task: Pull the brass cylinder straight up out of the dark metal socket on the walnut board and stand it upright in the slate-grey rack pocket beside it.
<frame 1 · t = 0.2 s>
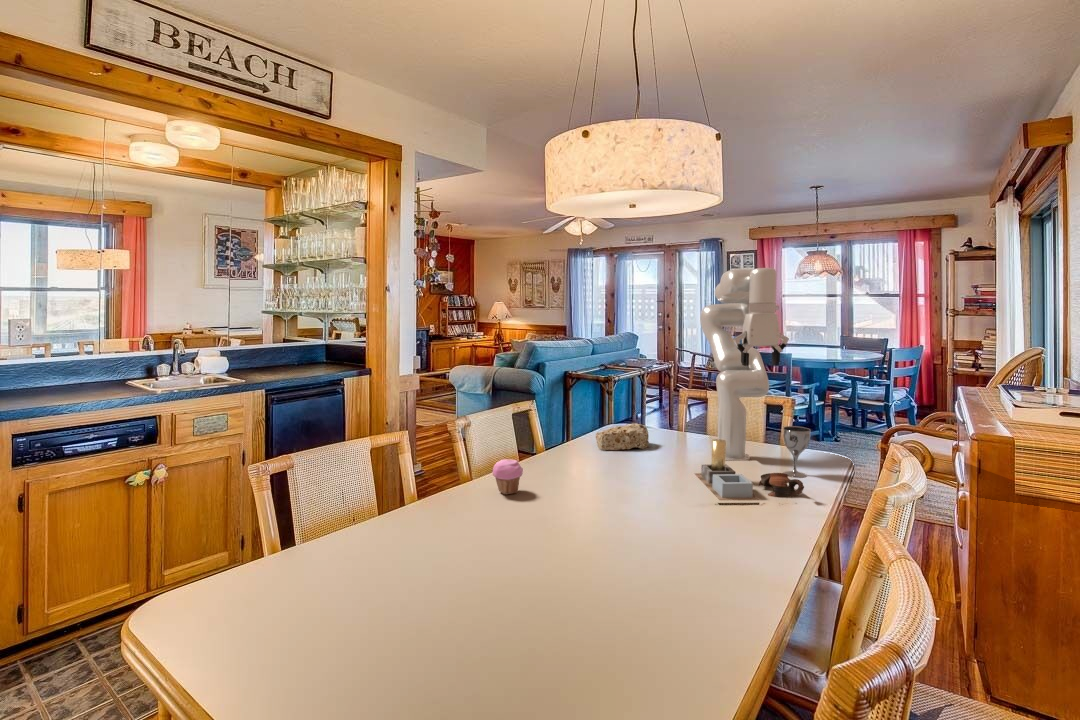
hand: (760, 365, 171), 36 cm above the table, tool pointing down, fingers open, 9 cm apart
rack: (731, 497, 159), resting on tool board
wine glass: (794, 474, 180), on the table
tool board: (724, 490, 164), on the table
rock: (621, 447, 217), on the table
brass cylinder: (717, 479, 170), point 1 cm above the table, touching tool board
cupcake: (507, 493, 164), on the table
pottery mug: (780, 498, 158), on the table
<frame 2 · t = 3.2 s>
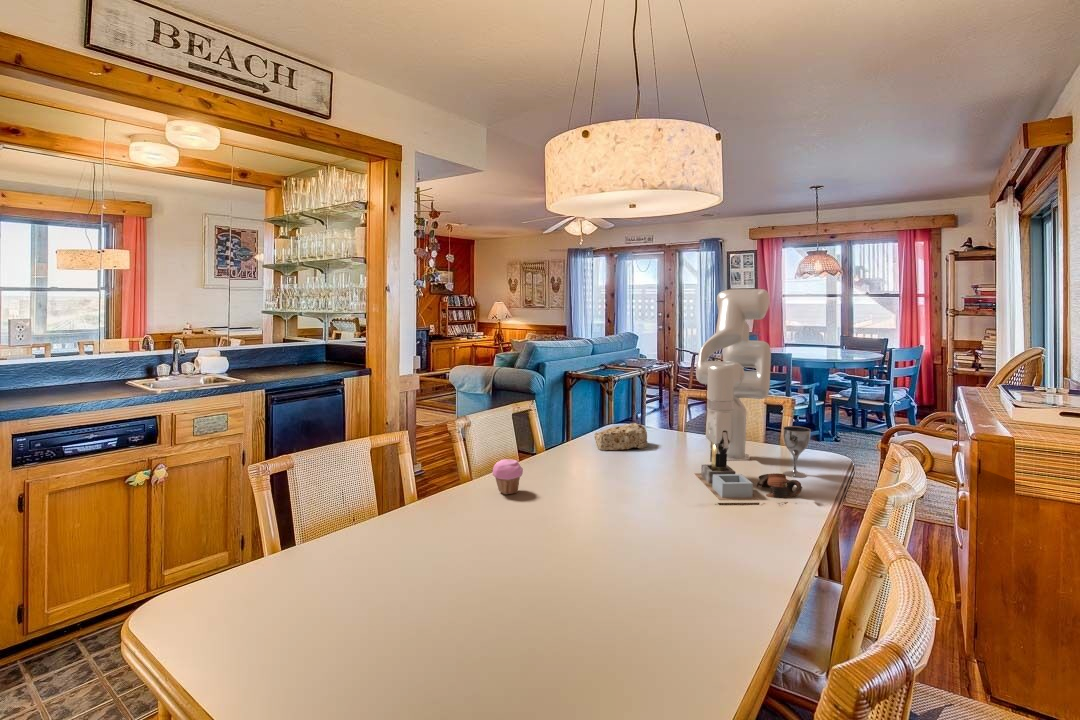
hand: (718, 463, 170), 6 cm above the table, tool pointing down, fingers closed on brass cylinder, 4 cm apart
brass cylinder: (717, 479, 170), point 1 cm above the table, touching gripper, tool board
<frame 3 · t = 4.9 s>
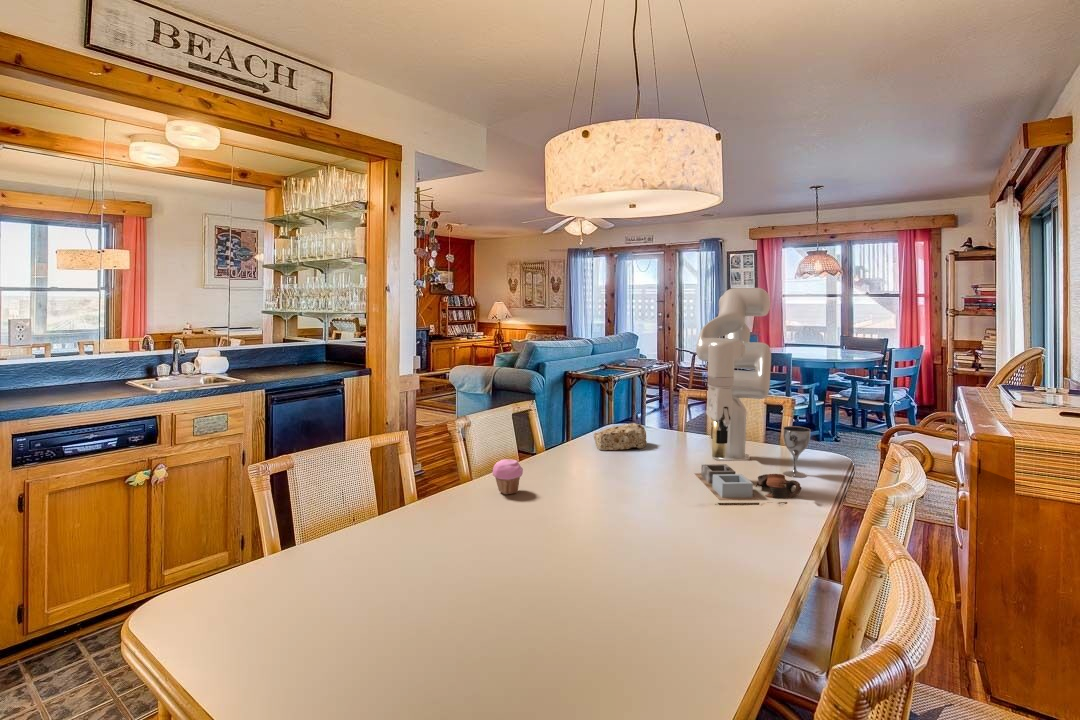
hand: (719, 440, 170), 13 cm above the table, tool pointing down, fingers closed on brass cylinder, 4 cm apart
brass cylinder: (718, 456, 170), point 9 cm above the table, touching gripper
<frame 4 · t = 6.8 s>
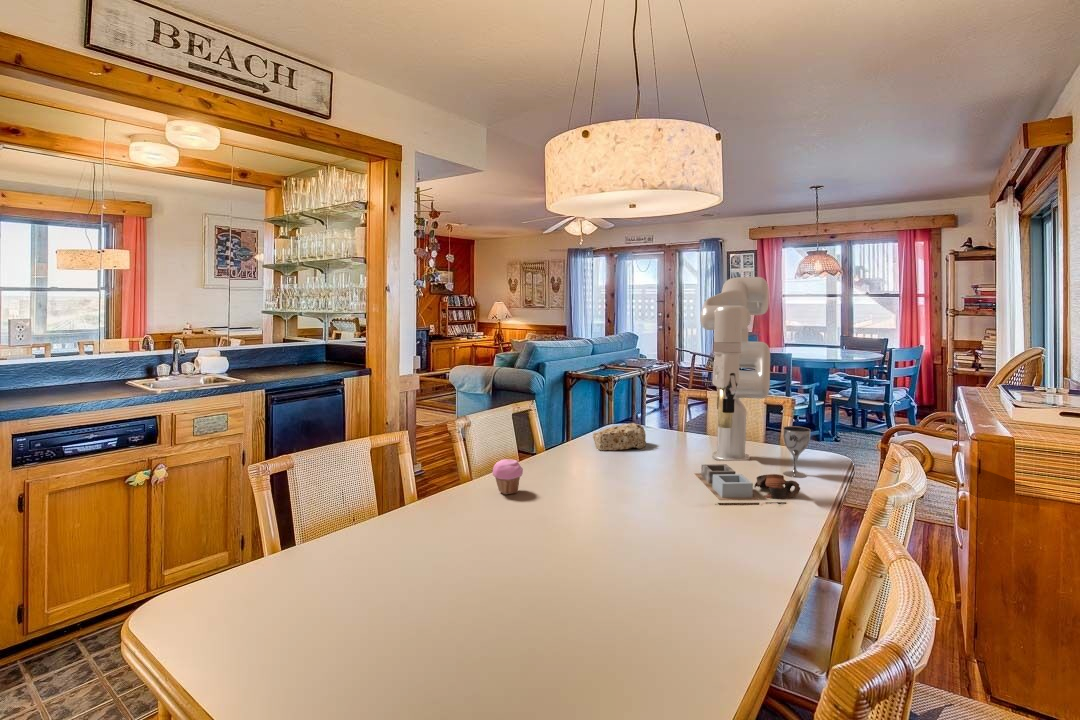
hand: (725, 410, 163), 24 cm above the table, tool pointing down, fingers closed on brass cylinder, 4 cm apart
brass cylinder: (724, 426, 163), point 19 cm above the table, touching gripper
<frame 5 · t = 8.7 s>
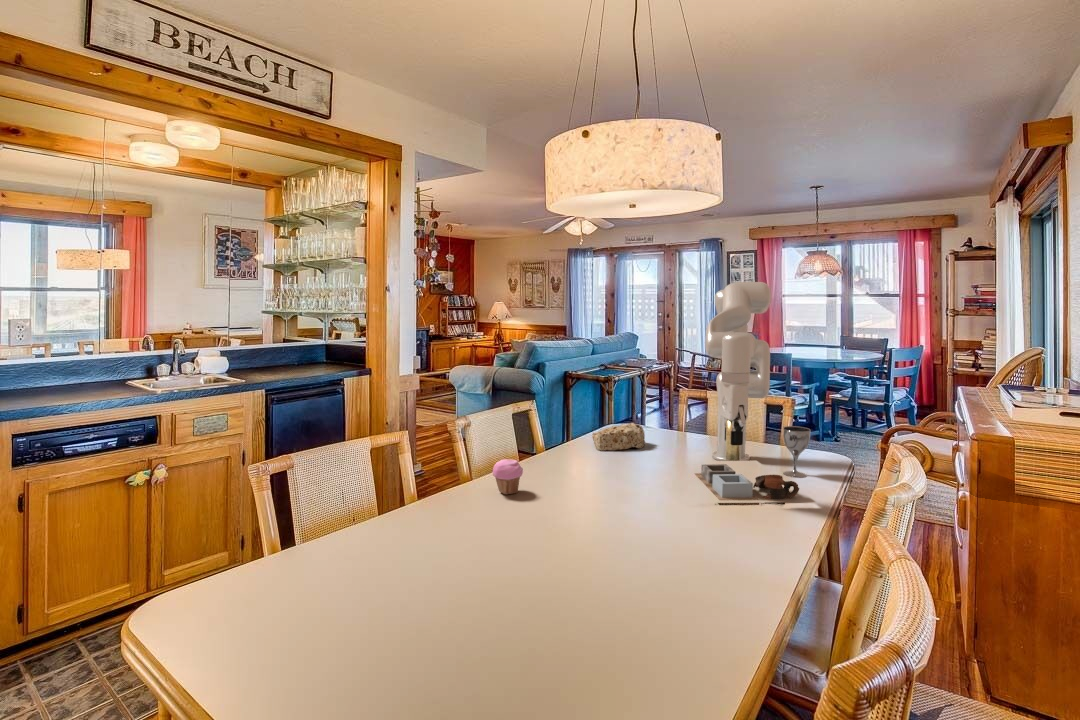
hand: (733, 442, 157), 16 cm above the table, tool pointing down, fingers closed on brass cylinder, 4 cm apart
brass cylinder: (732, 458, 157), point 11 cm above the table, touching gripper
when the fingers open (8 cm above the table, at t = 10.4 s): brass cylinder drops 2 cm, resting on tool board.
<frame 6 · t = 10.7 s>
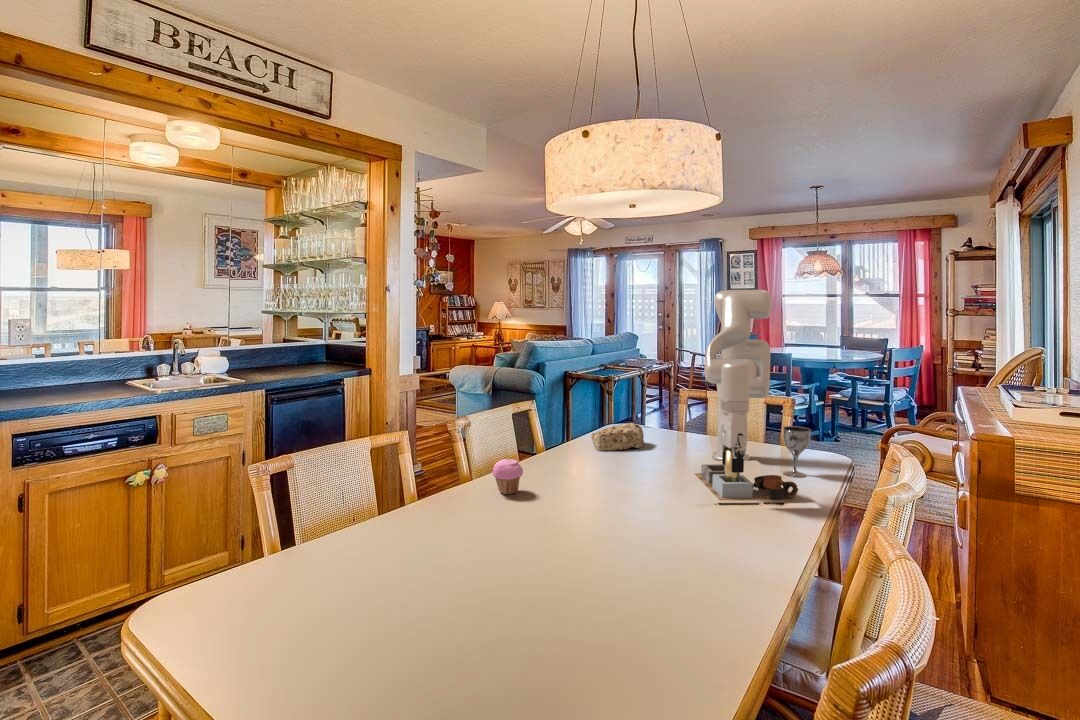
hand: (732, 467, 158), 9 cm above the table, tool pointing down, fingers open, 6 cm apart
brass cylinder: (731, 492, 159), point 2 cm above the table, touching tool board
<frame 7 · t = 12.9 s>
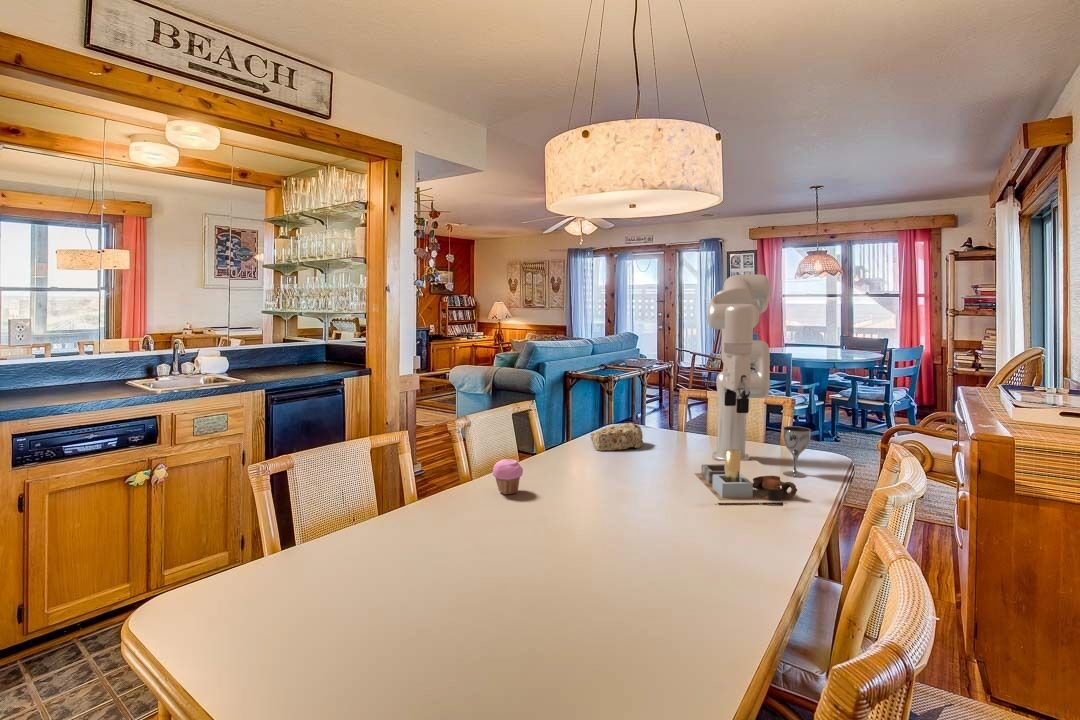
hand: (736, 409, 159), 25 cm above the table, tool pointing down, fingers open, 9 cm apart
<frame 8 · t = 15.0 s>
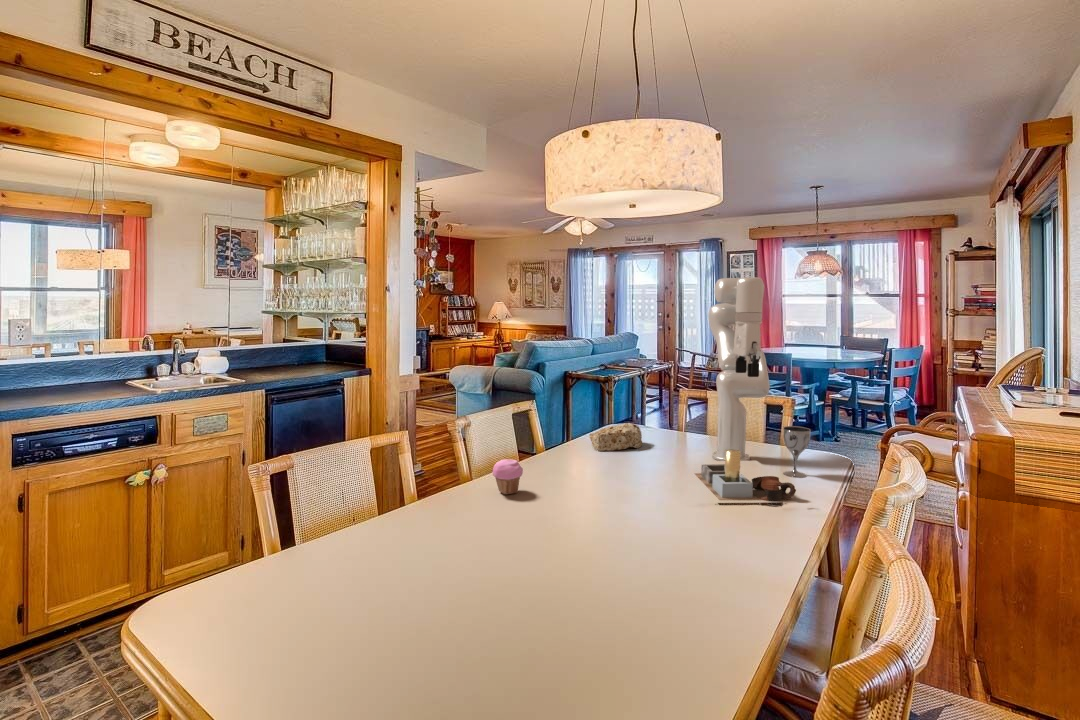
hand: (746, 374, 170), 33 cm above the table, tool pointing down, fingers open, 9 cm apart
at the end: brass cylinder 0.1 cm off-centre on the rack, point 1.5 cm above the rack's base; brass cylinder tilted 0°; the gripper is holding nothing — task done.
